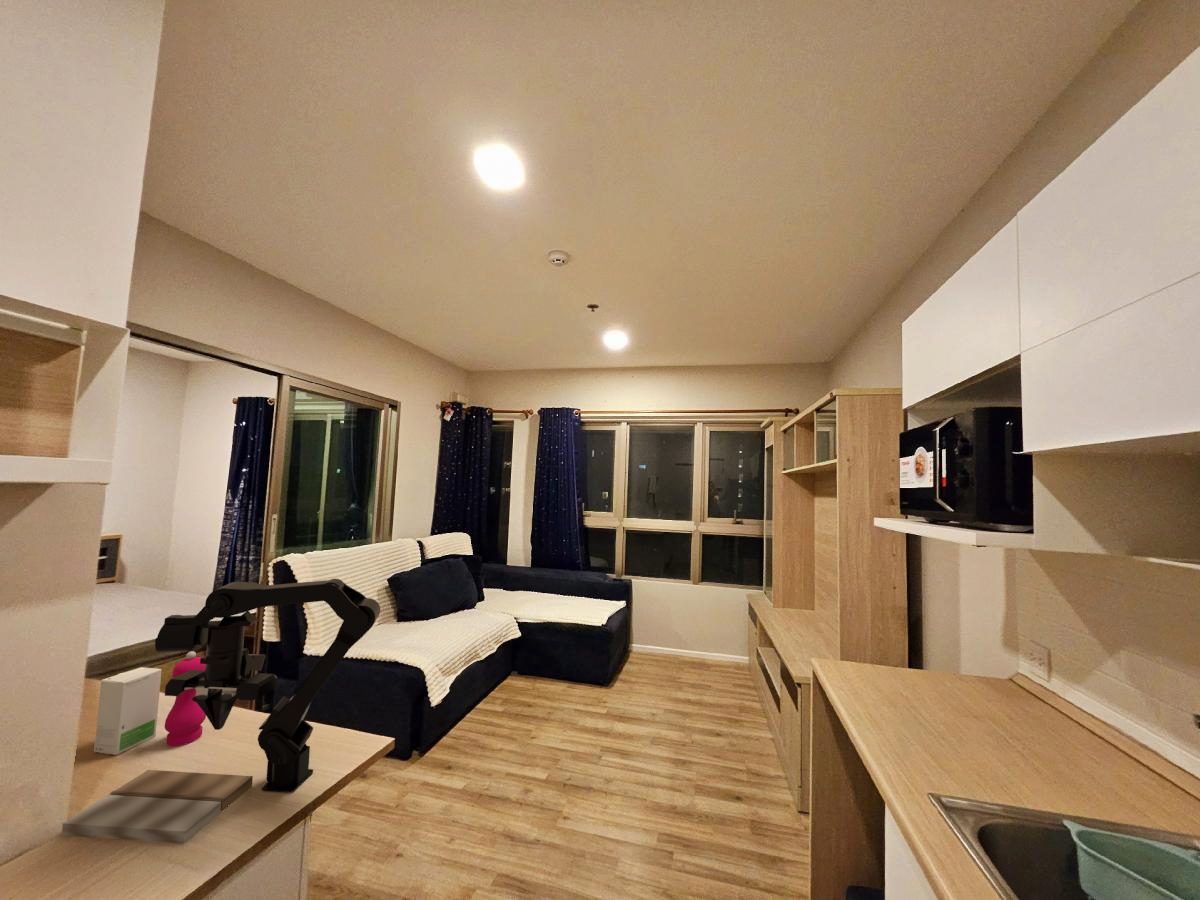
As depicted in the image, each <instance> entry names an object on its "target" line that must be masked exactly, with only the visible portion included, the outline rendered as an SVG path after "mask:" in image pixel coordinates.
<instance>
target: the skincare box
mask: <svg viewBox="0 0 1200 900" xmlns="http://www.w3.org/2000/svg"><path fill="white" fill-rule="evenodd" d="M161 679H162V669H161V668H155V667H154V668H153V667H141V666H140V667H138V668H134V669H131V670H128V671H125V672H121V673H118V674H115V675H113V676H110V677H107V678H103V679H101V680H100V688H99V691H100V692H99V699H98V709H97V717H96V727H95V728H96V729H95V739H94V746H93V752H94V751H95V752H94V753H96V752H99V753H98V754H102V753H106V754H105V755H109V754H113V755H112V756H117V755H120V754H122V753H125V752H126V751H128V750H130V749H132V748H135V747H136V746H138V745H141V744H143V743H144V742H145V743H146V742H147V741H149V740H151V739H153V738H155V737H156V736H157V725H158V714H159V702H160V692H161V691H160V690H161V681H162V680H161Z"/></svg>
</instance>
